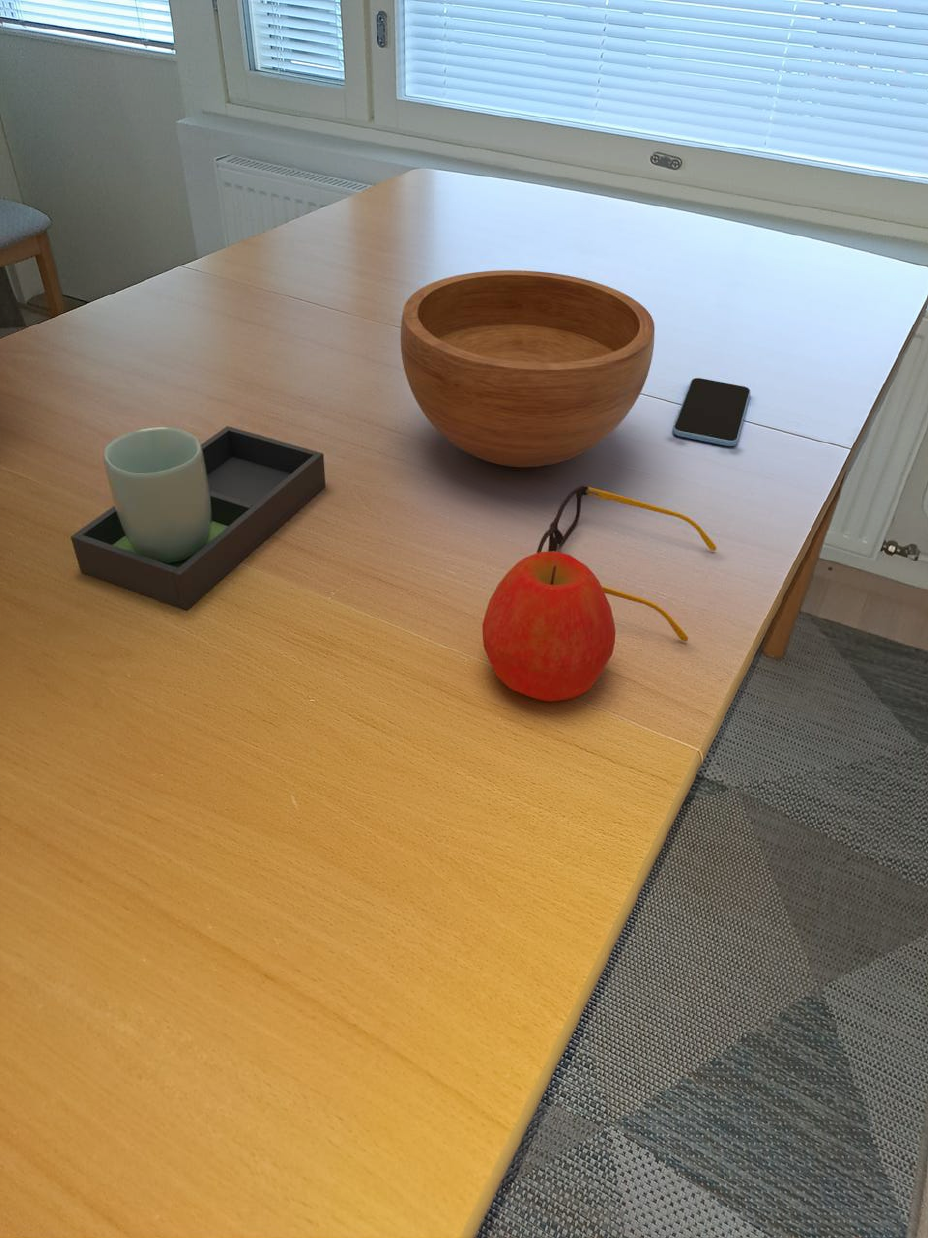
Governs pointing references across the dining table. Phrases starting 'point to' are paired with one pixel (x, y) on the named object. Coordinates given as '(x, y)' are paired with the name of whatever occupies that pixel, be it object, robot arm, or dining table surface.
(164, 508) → the cup
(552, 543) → the eyeglasses
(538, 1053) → the dining table surface
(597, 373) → the bowl
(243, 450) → the holder
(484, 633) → the apple
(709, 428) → the smartphone
